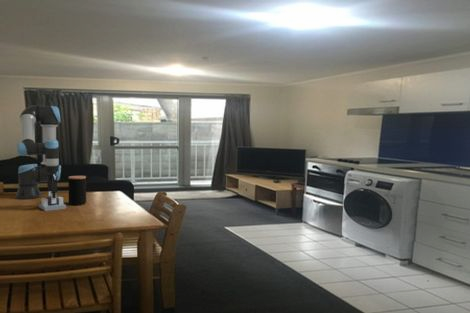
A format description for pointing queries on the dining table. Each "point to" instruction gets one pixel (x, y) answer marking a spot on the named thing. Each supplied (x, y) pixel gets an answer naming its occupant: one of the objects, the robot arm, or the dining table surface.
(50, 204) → the dark gray block
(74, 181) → the coffee jar
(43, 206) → the board
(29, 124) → the robot arm
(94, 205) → the dining table surface
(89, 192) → the dining table surface
